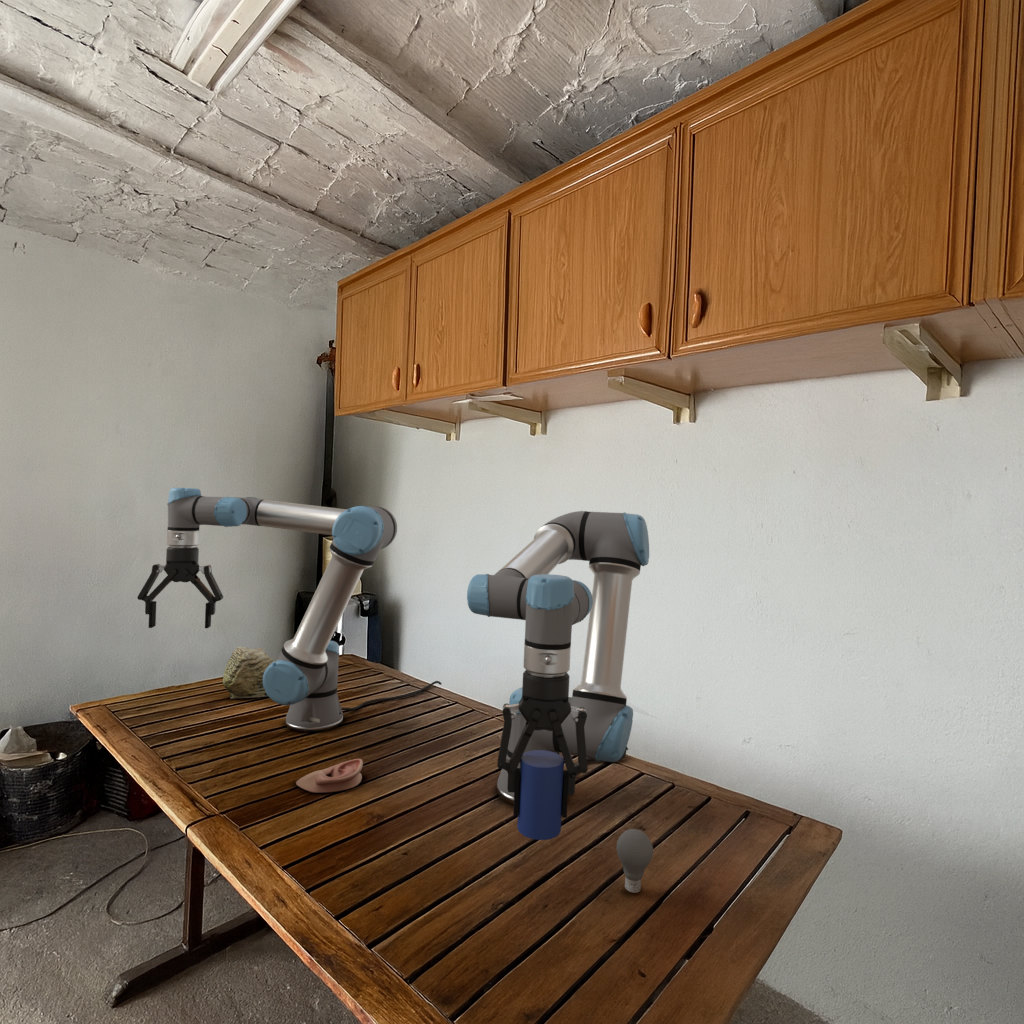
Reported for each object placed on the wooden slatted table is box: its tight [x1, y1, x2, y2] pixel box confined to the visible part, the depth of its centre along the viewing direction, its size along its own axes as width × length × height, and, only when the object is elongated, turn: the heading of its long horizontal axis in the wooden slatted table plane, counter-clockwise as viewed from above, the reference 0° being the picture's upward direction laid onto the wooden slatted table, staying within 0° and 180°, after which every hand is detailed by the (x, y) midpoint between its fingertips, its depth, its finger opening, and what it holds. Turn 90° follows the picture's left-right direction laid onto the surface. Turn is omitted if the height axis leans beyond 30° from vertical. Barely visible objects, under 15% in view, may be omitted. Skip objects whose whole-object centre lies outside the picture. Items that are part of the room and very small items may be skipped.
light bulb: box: [615, 828, 654, 894], centre depth 106 cm, size 6×6×10 cm
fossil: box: [222, 646, 275, 699], centre depth 198 cm, size 9×18×15 cm, turn 132°
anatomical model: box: [295, 758, 364, 794], centre depth 140 cm, size 13×4×12 cm
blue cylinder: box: [517, 750, 565, 841], centre depth 102 cm, size 7×7×11 cm
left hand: (180, 627), depth 167 cm, fingers open, 13 cm apart
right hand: (539, 812), depth 102 cm, fingers closed on blue cylinder, 7 cm apart
